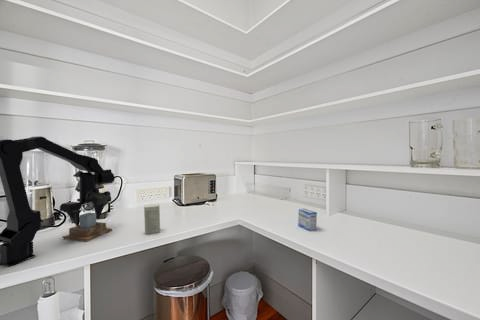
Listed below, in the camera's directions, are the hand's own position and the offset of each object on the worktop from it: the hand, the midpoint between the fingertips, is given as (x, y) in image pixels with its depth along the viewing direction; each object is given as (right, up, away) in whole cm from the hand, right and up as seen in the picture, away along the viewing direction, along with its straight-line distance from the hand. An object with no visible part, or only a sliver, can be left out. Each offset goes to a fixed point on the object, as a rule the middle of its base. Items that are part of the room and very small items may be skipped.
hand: (88, 222), depth 85 cm
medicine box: (+99, -6, +10) cm, 100 cm away
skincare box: (+26, -6, +4) cm, 27 cm away
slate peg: (0, -5, 0) cm, 4 cm away
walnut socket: (0, -6, 0) cm, 6 cm away
